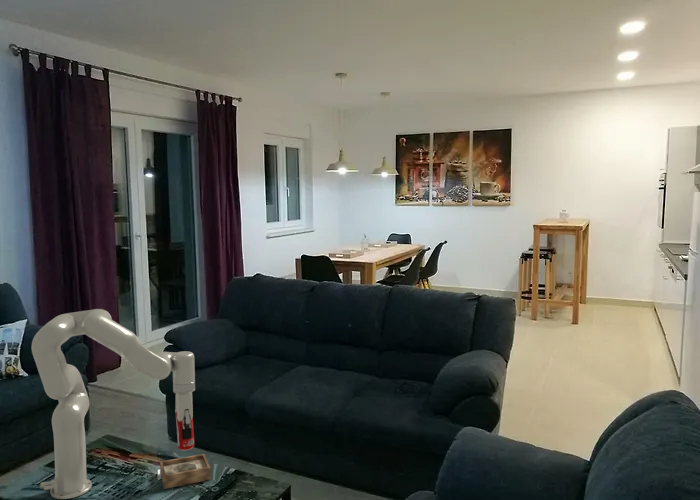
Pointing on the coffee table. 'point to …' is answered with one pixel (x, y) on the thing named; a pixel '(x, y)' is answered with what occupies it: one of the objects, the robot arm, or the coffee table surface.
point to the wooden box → (184, 471)
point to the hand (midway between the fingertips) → (185, 434)
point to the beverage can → (185, 443)
